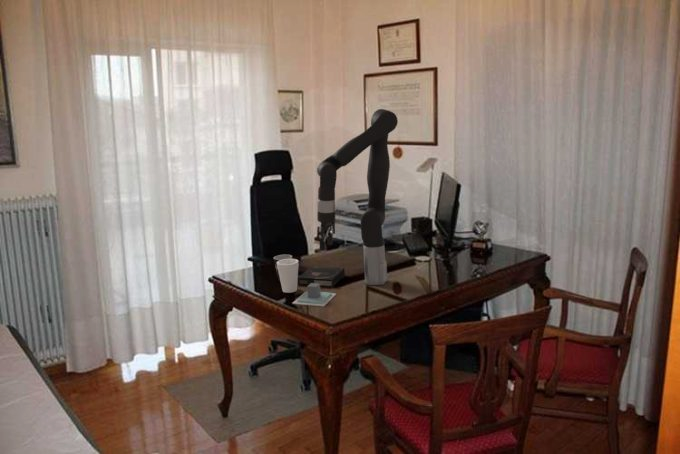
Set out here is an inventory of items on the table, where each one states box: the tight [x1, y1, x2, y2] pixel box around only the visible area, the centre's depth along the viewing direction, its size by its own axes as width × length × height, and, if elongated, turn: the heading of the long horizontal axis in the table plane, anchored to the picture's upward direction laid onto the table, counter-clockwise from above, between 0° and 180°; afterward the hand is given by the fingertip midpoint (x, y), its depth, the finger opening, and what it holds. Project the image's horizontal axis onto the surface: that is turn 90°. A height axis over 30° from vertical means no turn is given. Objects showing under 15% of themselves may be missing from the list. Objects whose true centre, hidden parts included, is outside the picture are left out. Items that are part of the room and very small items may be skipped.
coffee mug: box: [273, 254, 293, 280], centre depth 266 cm, size 12×9×10 cm
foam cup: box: [277, 258, 300, 294], centre depth 247 cm, size 10×9×13 cm
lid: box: [297, 283, 333, 304], centre depth 235 cm, size 11×11×6 cm
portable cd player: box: [297, 265, 346, 288], centre depth 259 cm, size 16×17×4 cm
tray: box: [291, 290, 337, 307], centre depth 236 cm, size 14×14×1 cm
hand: (326, 247), depth 242 cm, fingers open, 8 cm apart
